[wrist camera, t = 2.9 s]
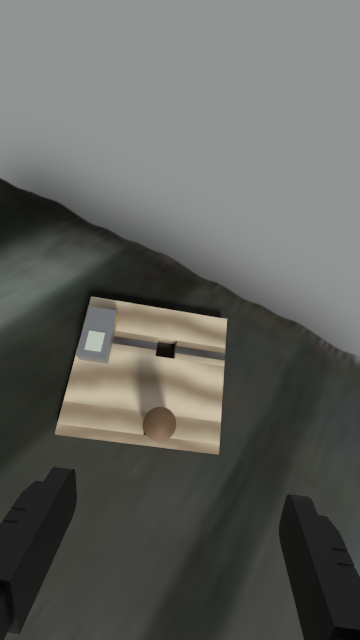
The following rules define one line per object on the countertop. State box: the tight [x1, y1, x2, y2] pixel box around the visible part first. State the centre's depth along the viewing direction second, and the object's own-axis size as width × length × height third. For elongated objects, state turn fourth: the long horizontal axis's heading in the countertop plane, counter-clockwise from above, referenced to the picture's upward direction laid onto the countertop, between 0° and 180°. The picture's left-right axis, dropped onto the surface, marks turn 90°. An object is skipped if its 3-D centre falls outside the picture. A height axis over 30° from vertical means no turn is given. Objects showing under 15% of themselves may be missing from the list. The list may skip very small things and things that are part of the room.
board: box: [55, 296, 227, 455], centre depth 46 cm, size 22×24×3 cm
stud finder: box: [76, 306, 118, 364], centre depth 44 cm, size 8×4×3 cm, turn 173°
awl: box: [142, 407, 176, 442], centre depth 39 cm, size 4×4×11 cm
